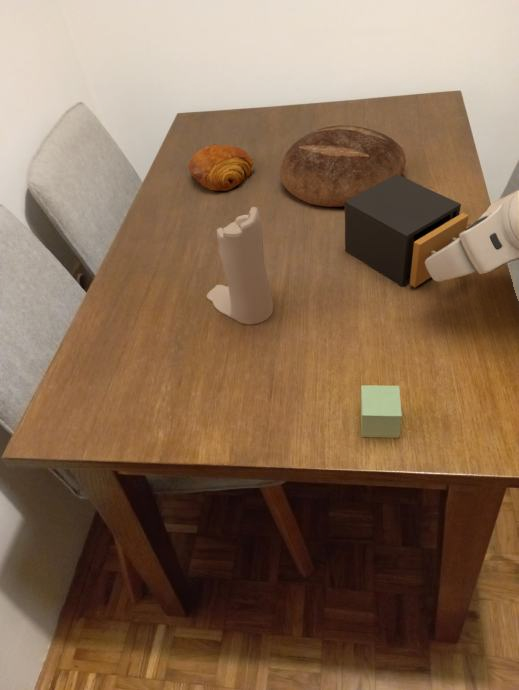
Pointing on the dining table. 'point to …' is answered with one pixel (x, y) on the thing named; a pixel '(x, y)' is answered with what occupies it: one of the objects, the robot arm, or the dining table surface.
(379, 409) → the block
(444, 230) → the drawer
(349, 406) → the dining table surface
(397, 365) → the dining table surface
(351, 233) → the cabinet
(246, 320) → the candle
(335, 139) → the bread
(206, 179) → the croissant
